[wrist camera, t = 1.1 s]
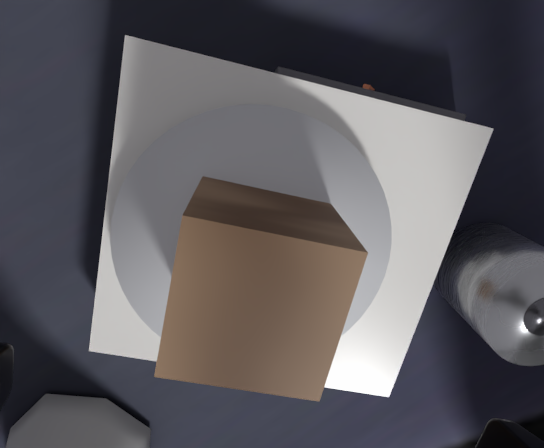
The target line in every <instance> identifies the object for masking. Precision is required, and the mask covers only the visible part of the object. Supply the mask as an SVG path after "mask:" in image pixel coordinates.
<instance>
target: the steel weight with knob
mask: <svg viewBox="0 0 544 448" xmlns="http://www.w3.org/2000/svg"><path fill="white" fill-rule="evenodd" d="M434 283H435V286H436V288H437V290H438V292H439V293H440V295H441V296H442V297H443V298H444V299H445V300H446V301H447V302H448V303H449V304H450V305H451V306H452V307H453V308H454V309H455V310H456V311H457V312H458V313H459V315H460V316H461V317H462V318H463V319H464V320H465V321H466V322H467V323H468V324H469V325H470V326H471V327H472V328H473V329H474V330H475V331H476V332H477V333H478V334H479V335H480V336H481V337H482V338H483V340H484V341H485V342H486V343H487V344H488V345H489V346H490V347H491V348H492V349H493V350H494V351H495V352H496V353H497V354H498V355H499V356H500V357H502V358H503V359H505V360H507V361H508V362H511V363H514V364H517V365H523V366H538V365H544V246H542V245H540V244H538V243H536V242H534V241H532V240H530V239H528V238H526V237H524V236H522V235H520V234H518V233H517V232H515V231H513V230H511V229H509V228H507V227H505V226H503V225H500V224H496V223H477V224H473V225H470V226H467V227H465V228H463V229H461V230H459V231H458V232H456V233H455V234H454V235H452V237H451V239H450V242H449V244H448V247H447V250H446V252H445V255H444V257H443V260H442V262H441V265H440V268H439V270H438V273H437V275H436V278H435V280H434Z"/></svg>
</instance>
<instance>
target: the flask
mask: <svg viewBox="0 0 544 448" xmlns="http://www.w3.org/2000/svg"><path fill="white" fill-rule="evenodd" d="M150 435H151V429H150V428H149V427H147V426H146V425H144V424H143V423H141V422H140V421H138V420H137V419H135V418H134V417H133V416H131V415H130V414H128V413H127V412H125V411H124V410H122V409H121V408H119V407H118V406H116V405H115V404H114V403H112V402H111V401H109V400H108V399H106V398H94V397H82V396H69V395H57V394H45V395H44V396H43V397H42V398H41V399H40V400H39V401H38V402H37V403H36V404H35V405H34V406H33V407H32V408H31V409H30V410H28V411H27V412H26V413H25V414H24V415H23V416H22V417H21V418H20V419H19V420H18V421H17V422H16V423H15V424H14V425H13V426H12V427H11V428H10V432H9V436H8V440H7V444H6V448H150Z"/></svg>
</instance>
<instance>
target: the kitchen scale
mask: <svg viewBox="0 0 544 448" xmlns="http://www.w3.org/2000/svg"><path fill="white" fill-rule="evenodd" d="M465 118H466V114H462V113H458V112H454V111H450V110H446V109H442V108H439V107H435V106H431V105H427V104H423V103H419V102H415V101H411V100H407V99H404V98H400V97H396V96H392V95H388V94H384V93H380V92H376V91H375V89H374V88H373V87H372V86H371V85H367V84H363V88H361V87H357V86H353V85H349V84H345V83H341V82H337V81H333V80H330V79H326V78H322V77H318V76H314V75H310V74H306V73H302V72H298V71H295V70H291V69H287V68H283V67H277V68H276V69H275V72H274V73H273V72H269V71H265V70H261V69H257V68H253V67H249V66H245V65H242V64H238V63H234V62H230V61H226V60H222V59H218V58H214V57H210V56H206V55H202V54H198V53H194V52H190V51H187V50H183V49H179V48H175V47H171V46H167V45H163V44H159V43H155V42H151V41H147V40H143V39H139V38H135V37H132V36H128V35H125V40H124V49H123V57H122V66H121V75H120V84H119V92H118V101H117V110H116V119H115V127H114V136H113V145H112V154H111V162H110V171H109V180H108V188H107V197H106V206H105V215H104V223H103V232H102V241H101V250H100V258H99V267H98V276H97V285H96V293H95V302H94V311H93V320H92V328H91V337H90V346H89V351H93V352H99V353H106V354H112V355H119V356H125V357H132V358H138V359H145V360H151V361H157V357H158V352H159V346H160V340H161V335H162V329H163V323H164V317H165V312H166V306H167V300H168V294H169V289H170V283H171V277H172V272H173V266H174V260H175V254H176V249H177V243H178V237H179V231H180V226H181V220H182V215H183V213H184V211H185V209H186V207H187V205H188V203H189V202H190V200H191V198H192V196H193V194H194V192H195V190H196V188H197V186H198V184H199V182H200V180H201V178H202V177H203V176H205V177H209V178H214V179H218V180H223V181H228V182H232V183H237V184H242V185H246V186H251V187H256V188H260V189H265V190H269V191H274V192H279V193H283V194H288V195H293V196H297V197H302V198H307V199H311V200H316V201H321V202H325V203H330V204H332V206H333V207H334V208H335V210H336V211H337V212H338V214H339V215H340V216H341V218H342V219H343V220H344V222H345V223H346V224H347V225H348V227H349V228H350V229H351V231H352V232H353V233H354V235H355V236H356V237H357V239H358V240H359V241H360V243H361V244H362V245H363V247H364V248H365V249H366V251H367V252H368V255H367V258H366V261H365V264H364V267H363V270H362V273H361V276H360V279H359V282H358V285H357V288H356V291H355V294H354V297H353V301H352V304H351V307H350V310H349V313H348V316H347V319H346V322H345V325H344V328H343V331H342V334H341V337H340V340H339V343H338V346H337V349H336V352H335V355H334V358H333V361H332V364H331V367H330V371H329V374H328V377H327V380H326V383H325V386H324V387H326V388H333V389H339V390H346V391H352V392H359V393H365V394H372V395H378V396H385V397H389V396H390V393H391V391H392V388H393V386H394V383H395V380H396V378H397V375H398V373H399V370H400V368H401V365H402V363H403V360H404V357H405V355H406V352H407V350H408V347H409V345H410V342H411V339H412V337H413V334H414V332H415V329H416V327H417V324H418V321H419V319H420V316H421V314H422V311H423V309H424V306H425V303H426V301H427V298H428V296H429V293H430V291H431V288H432V286H433V283H434V280H435V278H436V275H437V273H438V270H439V268H440V265H441V262H442V260H443V257H444V255H445V252H446V250H447V247H448V244H449V242H450V239H451V237H452V234H453V232H454V229H455V227H456V224H457V221H458V219H459V216H460V214H461V211H462V209H463V206H464V203H465V201H466V198H467V196H468V193H469V191H470V188H471V185H472V183H473V180H474V178H475V175H476V173H477V170H478V168H479V165H480V162H481V160H482V157H483V155H484V152H485V150H486V147H487V144H488V142H489V139H490V137H491V134H492V132H493V128H489V127H485V126H481V125H477V124H473V123H469V122H465V121H464V120H465Z"/></svg>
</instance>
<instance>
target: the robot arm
mask: <svg viewBox="0 0 544 448" xmlns="http://www.w3.org/2000/svg"><path fill="white" fill-rule="evenodd" d="M13 363H14V349H13V346H12V345H10V344H8V343H2V342H0V411H1V409H2V407H3V405H4V404H5V402H6V400H7V398H8V396H9V394H10V391H11V388H12V383H13ZM475 448H544V442H543V441H542V440H540V439H539V438H537V437H536V436H535V435H533V434H532V433H530V432H529V431H527V430H526V429H524V428H523V427H522V426H520V425H519V424H517V423H516V422H514V421H511V420H506V419H499V418H493V419H491V420H489V421H488V422H487V424H486V426H485V428H484V430H483V432H482V434H481V437H480V439H479V441H478V443H477V445H476V447H475Z"/></svg>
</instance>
